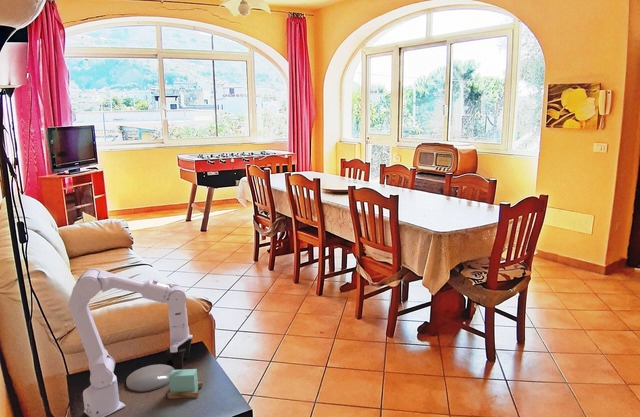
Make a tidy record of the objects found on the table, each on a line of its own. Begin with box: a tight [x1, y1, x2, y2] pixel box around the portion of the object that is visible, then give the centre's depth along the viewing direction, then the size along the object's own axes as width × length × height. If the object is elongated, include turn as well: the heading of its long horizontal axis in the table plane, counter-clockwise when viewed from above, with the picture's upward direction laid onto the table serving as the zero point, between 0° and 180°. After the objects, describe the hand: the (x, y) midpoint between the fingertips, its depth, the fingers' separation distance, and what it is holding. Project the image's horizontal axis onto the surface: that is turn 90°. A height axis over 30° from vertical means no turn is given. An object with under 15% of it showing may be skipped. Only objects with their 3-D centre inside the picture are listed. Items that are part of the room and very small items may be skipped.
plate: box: [125, 363, 175, 393], centre depth 159 cm, size 16×16×1 cm
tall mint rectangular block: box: [169, 368, 199, 392], centre depth 150 cm, size 8×4×7 cm, turn 91°
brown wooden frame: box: [164, 381, 204, 400], centre depth 150 cm, size 10×7×2 cm, turn 91°
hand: (182, 363), depth 149 cm, fingers open, 7 cm apart
